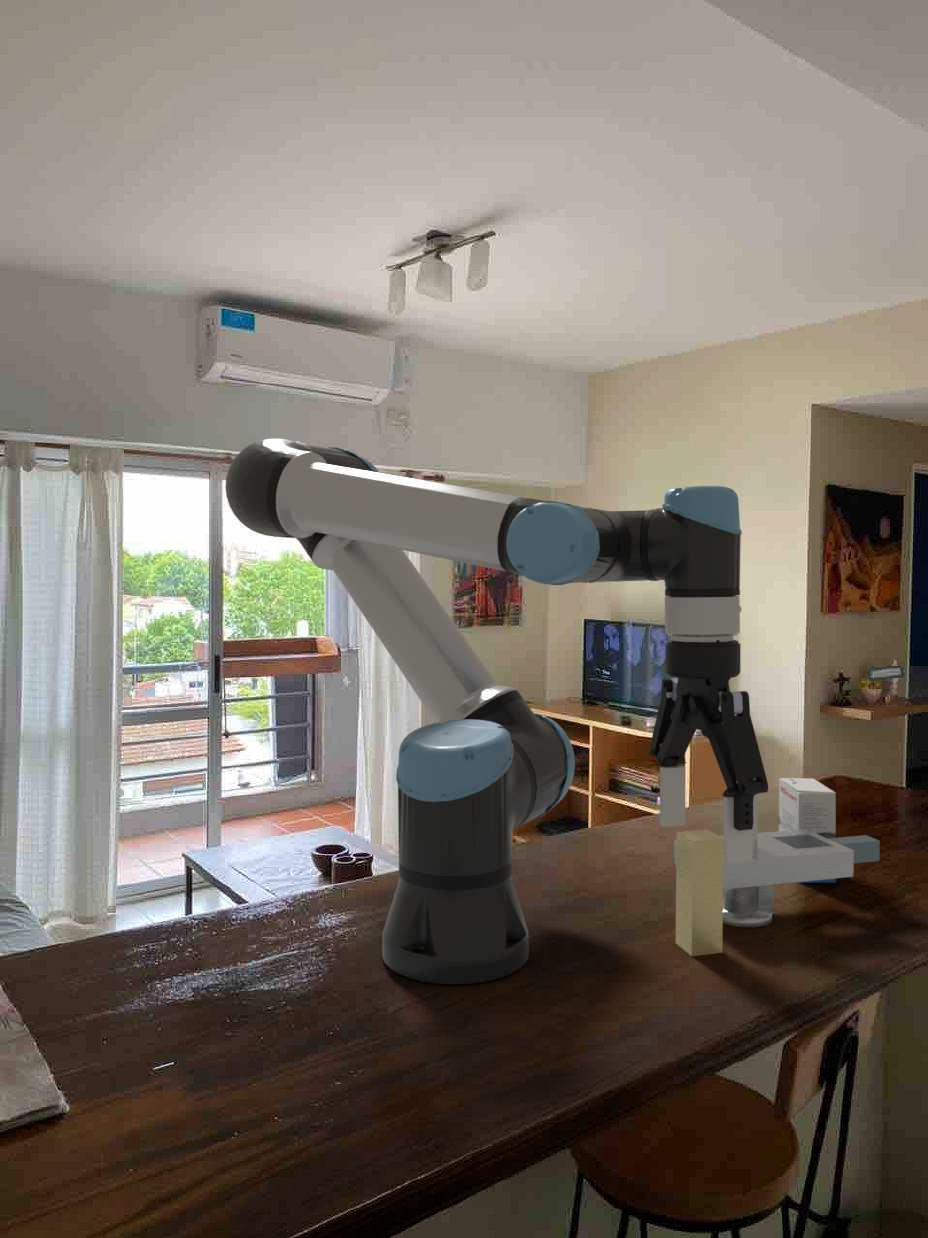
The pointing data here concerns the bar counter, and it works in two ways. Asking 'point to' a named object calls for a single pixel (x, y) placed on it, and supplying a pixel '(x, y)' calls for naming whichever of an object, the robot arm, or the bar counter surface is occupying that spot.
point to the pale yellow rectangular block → (699, 892)
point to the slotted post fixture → (785, 868)
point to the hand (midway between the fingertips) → (703, 842)
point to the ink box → (807, 809)
